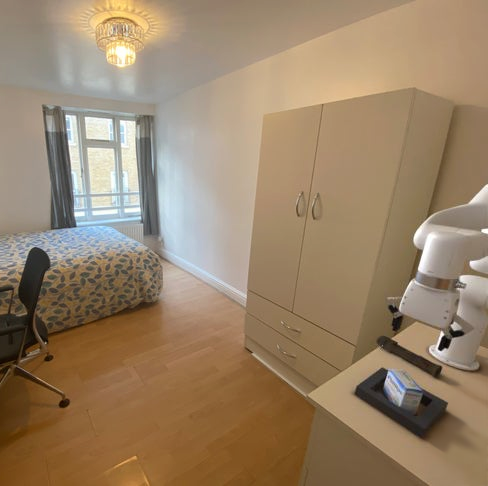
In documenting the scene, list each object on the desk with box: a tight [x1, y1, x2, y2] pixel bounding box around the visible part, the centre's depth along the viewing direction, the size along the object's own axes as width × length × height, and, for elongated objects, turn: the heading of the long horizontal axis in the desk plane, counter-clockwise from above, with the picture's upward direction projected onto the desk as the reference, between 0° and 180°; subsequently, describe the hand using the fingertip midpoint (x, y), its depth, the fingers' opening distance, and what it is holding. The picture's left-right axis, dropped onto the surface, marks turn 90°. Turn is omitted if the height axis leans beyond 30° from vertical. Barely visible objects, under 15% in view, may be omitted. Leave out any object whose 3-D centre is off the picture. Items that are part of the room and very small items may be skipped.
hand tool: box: [375, 335, 443, 378], centre depth 98 cm, size 19×4×5 cm, turn 21°
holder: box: [354, 366, 449, 439], centre depth 80 cm, size 16×16×3 cm
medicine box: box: [382, 368, 423, 416], centre depth 79 cm, size 8×4×9 cm, turn 171°
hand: (417, 338), depth 74 cm, fingers open, 9 cm apart
